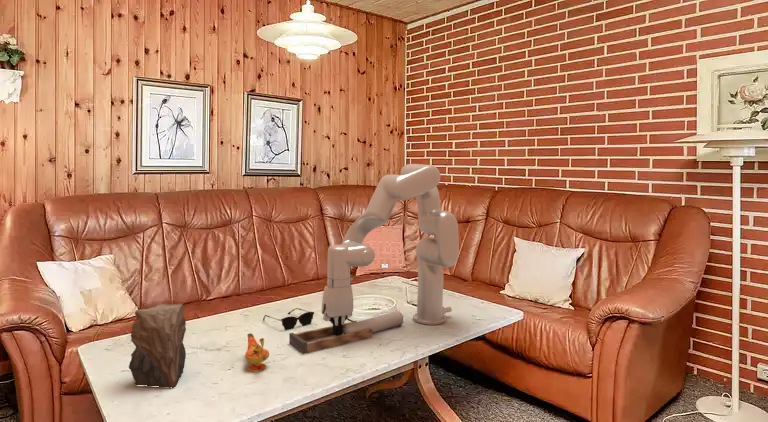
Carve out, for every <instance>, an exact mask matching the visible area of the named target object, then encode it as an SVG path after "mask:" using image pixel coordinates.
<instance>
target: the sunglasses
mask: <svg viewBox="0 0 768 422" xmlns="http://www.w3.org/2000/svg"><path fill="white" fill-rule="evenodd" d="M295 310H300V311H303V312H304V313H302V314H300V315H299V316H298V317H296V316H292V315H291V316H287V317H283V318H281V319H280V318H276V317H273V316H270V315H268V314H267V315H266V314H265V315H264V316H263V319H262V320H263V321H264V320H265V319H266V317H268V318H271V319H273V320H277V321H279V322H281V325H282V327H283V329H284V331H289V330H292V329H295V327H296V326H297V323H298V322H299V324H300V325H301V326H302V327H304V326H309V325H311V324H312V320H313V319H314V315H315V312H314V311H308V310H305V309H302V308H299V307H298V308H297V307H296V308H293V309H292V310H290V311H289V312H288V313H287V315H290V314H291V313H292V312H294V311H295Z"/></svg>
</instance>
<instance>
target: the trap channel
mask: <svg viewBox="0 0 768 422" xmlns="http://www.w3.org/2000/svg"><path fill="white" fill-rule="evenodd" d="M355 322H358V321H356V320H354V321H349V322H344V324H343V329H344V328H345V326H346V325H348V324H352V323H355ZM370 339H373V333H372V329H366V330H361V331H357V332H352V333H348V334H343V332H342V335H339V336H335V335H333V325H330V326H326V327H321V328H316V329H312V330H306V331H302V332H297V333H294V332H291V333H289V341H288V343H289V345H291V346H292V347H293V348H295V349H296V350H297V351H299V352H300V353H302V355H306V354H309V353H314V352H319V351H323V350H326V349H327V350H328V349H331V348H337V347H340V346H344V345H349V344H353V343H357V342H362V341H366V340H370Z"/></svg>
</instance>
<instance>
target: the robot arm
mask: <svg viewBox="0 0 768 422" xmlns="http://www.w3.org/2000/svg"><path fill="white" fill-rule="evenodd" d="M440 181H441V173H440V170H439V169H438V168H437V167H436V166H434V165H432V164H420V163H410V164H405V165H403V167H402V168H401V169H400V174H393V173H392V174H385V175H384V176H382V177H381V178H380V180H379V181H378V184H377V186H376V188H375V190H374V192H373V194H372V196H371V198H370V201H369V203H368V205H367V206H366V208H365V211H364V212H363V213H362V214H361V215H360V216H359V217H358V218H356V220H355V221H354V222H353V223H352V224H351V225H350V226H349V228H348V229H347V232H345V235H344V237H343V239H342V240H341V244H332V245H329V246H328V249H327V273H326V275H327V280H326V283H327V284H326V285H325V286H324V289H323V293H322V297H321V298H322V300H321V314H322V316H323V318H322V320H323V321H325V322H330V324H331V325H332V326H333V336H339V335H343V334H342V332H343V324H344V323H346V321H347V319H349V318H351V317H353V312H354V294H353V289H352V285H351V282H353V281H354V278H353V277H352V276H351V267H357V268H358V267H360V268H361V267H362V268H363V267H368V266H370V265H371V264H372V263H373V262H374V260H375V257H376V254H375V251H374V249H373V248H372V247H371V246H369V245H367V244H365V243H363V242H364V240H365V238H366V237H367V235H369V234H370V232H372V231H374V230H375V229H377V228H379V227H381V226H383V225H385V224H387V223H388V221H389V220H390V217H391V215H392V212H393V210H395V209H394V208H395V206H396V205H397V202H398V200H399V201H408V200H412V199H414V198H415V199H416V205H417V217H418V218H417V221H418V223H417V224H418V228H419V230H420V231H421V232H422V233H424V234H425V235H429V236H426V237H425V236H424V237H423V238H420V239H419V241H418V242H417V244H416V247H415V254H416V261H417V270H418V271H417V272H418V273H417V299H416V300H417V301H416V302H417V305H416V306H417V307H416V313H414V314H413V315H412V319H413V321H414V322H416V323H418V324H422V325H428V326H431V325H432V326H433V325H435V326H436V325H441V324H444V323H445V322H447V316H446V315H445V314H446V313H450V312H453V311H452V307H451V306H448V307H445V306H443V302H444V301H443V299H444V269H443V267H444V268H451V267H453V266H454V265H456V263H457V262H458V259H459V255H460V242H459V241H460V239H459V238H460V237H459V223H458V221H457V218H456V216H455V215H454V214H453V213H452V212H449V211H447V210H442V206H441V205H442V204H441V198H440V197H441V196H440V193H439V192H440V191H439V189H438V187H437V186H439V183H440ZM433 236H435V237H433Z"/></svg>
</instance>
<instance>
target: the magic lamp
mask: <svg viewBox="0 0 768 422" xmlns="http://www.w3.org/2000/svg"><path fill="white" fill-rule="evenodd" d="M259 342H260V344H259V343H258V342H257V340H256V338H255V336H254V334H253V333H252V332H251V333H247V350H246V352H245V355H244V357H245V360H246V361H247V362H249V363H251V364H250V365H249V366H248V370H249V371H252V372H258V371H259V372H261V371H263V370H265V369H266V368H267V365H266V364H265V363H264V362H265V361H267V360H268V359H269V357H270V350H267V349H266V348H264V344H265V338H263V337H261V338H260V339H259Z"/></svg>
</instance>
